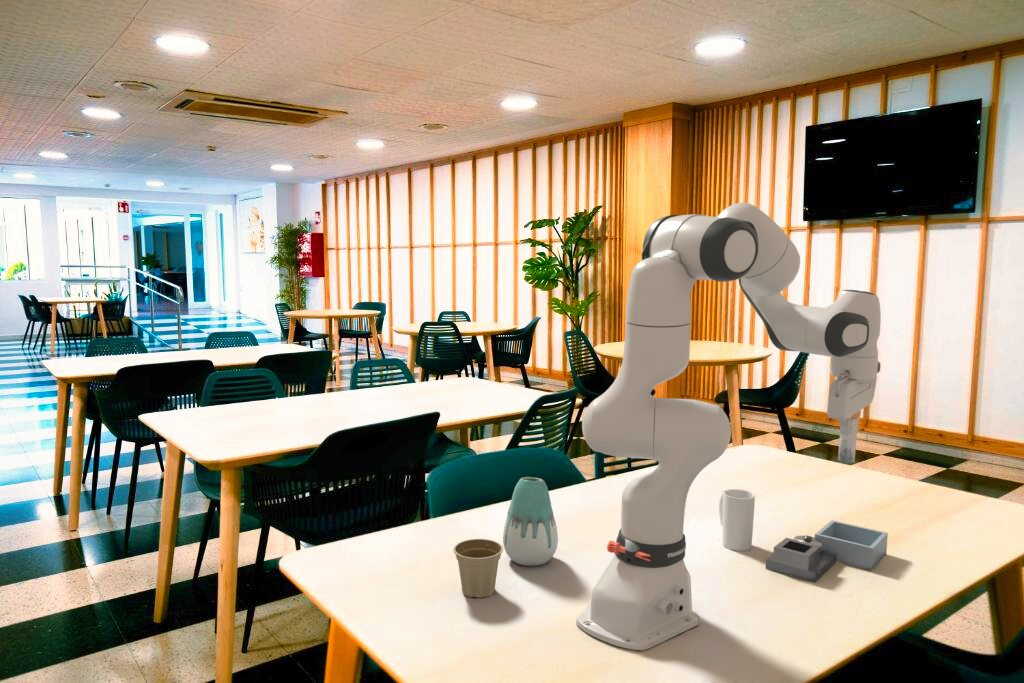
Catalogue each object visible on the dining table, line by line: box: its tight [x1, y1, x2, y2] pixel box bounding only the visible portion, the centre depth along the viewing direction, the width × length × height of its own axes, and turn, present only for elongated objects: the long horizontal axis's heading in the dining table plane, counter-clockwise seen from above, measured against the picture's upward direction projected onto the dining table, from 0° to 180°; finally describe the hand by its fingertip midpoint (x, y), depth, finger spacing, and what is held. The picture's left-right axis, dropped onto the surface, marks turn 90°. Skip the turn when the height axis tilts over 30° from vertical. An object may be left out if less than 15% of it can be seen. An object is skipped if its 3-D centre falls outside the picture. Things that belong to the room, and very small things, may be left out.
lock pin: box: [837, 411, 859, 464], centre depth 150 cm, size 3×3×11 cm
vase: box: [502, 476, 559, 567], centre depth 150 cm, size 12×12×18 cm
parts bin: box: [814, 519, 889, 572], centre depth 155 cm, size 12×12×5 cm
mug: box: [718, 488, 756, 552], centre depth 160 cm, size 10×7×12 cm, turn 20°
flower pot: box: [452, 538, 504, 599], centre depth 136 cm, size 9×9×9 cm
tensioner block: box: [765, 535, 837, 583], centre depth 149 cm, size 13×10×5 cm
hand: (848, 431), depth 150 cm, fingers closed on lock pin, 3 cm apart
